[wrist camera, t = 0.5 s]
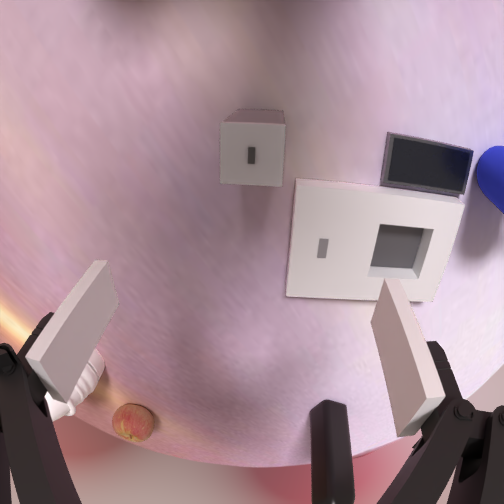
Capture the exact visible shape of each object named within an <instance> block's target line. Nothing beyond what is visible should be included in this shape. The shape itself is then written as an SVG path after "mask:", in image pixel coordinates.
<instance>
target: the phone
mask: <svg viewBox="0 0 504 504" xmlns="http://www.w3.org/2000/svg"><path fill="white" fill-rule="evenodd" d="M473 152H474V151H473V150H471V149H468V148H464V147H460V146H456V145H452V144H447V143H443V142H438V141H434V140H429V139H424V138H419V137H414V136H408V135H403V134H397V133H391V132H387V140H386V147H385V154H384V161H383V168H382V174H381V181H382V182H383V183H390V184H398V185H405V186H412V187H419V188H426V189H433V190H439V191H445V192H451V193H457V194H463V195H464V193H465V189H466V185H467V180H468V176H469V171H470V167H471V162H472V157H473Z"/></svg>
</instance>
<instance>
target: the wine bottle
mask: <svg viewBox="0 0 504 504" xmlns="http://www.w3.org/2000/svg"><path fill="white" fill-rule="evenodd" d="M310 427H311V469H312V470H311V472H312V473H311V474H312V476H311V477H312V504H354V500H355V489H354V476H353V464H352V453H351V442H350V433H349V424H348V415H347V407H346V405H344V404H341V403H337V402H334V401H330V400H324V401H322V402H321V403H320V404H319V405H317V406H316V407H315V408H314V409H312V410H311V411H310Z"/></svg>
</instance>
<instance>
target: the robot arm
mask: <svg viewBox="0 0 504 504" xmlns="http://www.w3.org/2000/svg"><path fill="white" fill-rule="evenodd" d="M118 306H119V301H118V297H117V293H116V290H115V286H114V282H113V278H112V274H111V270H110V266H109V262H108V261H105V260H95V261H94V262H93V263H92V264H91V266H90V267H89V268H88V269H87V271H86V272H85V273H84V275H83V276H82V277H81V278H80V280H79V281H78V282H77V284H76V285H75V286H74V288H73V289H72V290H71V292H70V293H69V294H68V296H67V297H66V298H65V300H64V301H63V302H62V304H61V305H60V306H59V308H58V309H57V311H56V312H55V313H52V312H50V313H49V314H47V315H46V316H45V317H44V318H42V319H41V321H40V322H39V324H38V325H37V326H36V329H34V331H33V332H32V335H30V336H29V338H28V339H27V341H26V342H25V344H24V345H23V347H22V348H21V350H20V351H19V353H18V354H17V355H16V353H15V352H14V350H13V348H12V346H10V345H9V344H6V343H2V344H0V504H12V501H11V486H10V469H11V473H12V477H13V481H14V484H15V488H16V492H17V495H18V499H19V502H20V504H82V503H81V501H80V499H79V496H78V494H77V492H76V489H75V487H74V484H73V482H72V479H71V476H70V474H69V471H68V468H67V466H66V463H65V460H64V457H63V454H62V451H61V448H60V445H59V442H58V439H57V436H56V432H55V429H54V425H53V422H52V418H51V415H50V411H49V407H48V403H47V400H46V398H45V395H46V393H47V391H48V393H49V394H50V396H51V397H52V398H53V399H54V400H57V401H60V402H63V403H66V404H67V403H68V400H69V398H70V396H71V394H72V392H73V390H74V388H75V386H76V384H77V382H78V380H79V378H80V376H81V374H82V372H83V370H84V368H85V366H86V364H87V362H88V361H89V359H90V357H91V355H92V353H93V351H94V349H95V347H96V345H97V344H98V342H99V340H100V338H101V336H102V334H103V332H104V331H105V329H106V327H107V325H108V323H109V322H110V320H111V318H112V316H113V315H114V313H115V311H116V309H117V308H118ZM371 325H372V329H373V333H374V336H375V340H376V344H377V348H378V352H379V356H380V360H381V364H382V368H383V372H384V376H385V381H386V385H387V390H388V394H389V399H390V403H391V408H392V413H393V418H394V423H395V428H396V433H397V437H404V436H412V435H415V434H416V433H417V431H418V430H419V429H420V428H421V431H422V435H423V436H422V437H421V438H420V439H419V440H418V442H417V443H416V444H415V445H414V446H413V447H412V448H414V450H413V451H412V453H411V455H410V456H409V458H408V459H407V461H406V462H405V464H404V465H403V467H402V468H401V470H400V472H399V473H398V474H397V476H396V477H395V479H394V480H393V482H392V483H391V485H390V486H389V488H388V489H387V490H386V492H385V493H384V494H383V496H382V497H381V498H380V500H379V501H378V502H377V504H436V503H437V501H438V499H439V498H440V496H441V494H442V492H443V490H444V489H445V487H446V485H447V483H448V481H449V479H450V477H451V475H452V473H453V471H454V469H455V467H456V470H455V474H454V479H453V483H452V487H451V490H450V494H449V498H448V501H447V504H504V406H502V405H501V406H499V407H497V408H496V409H495V410H494V411H493V412H485V411H479V410H475V408H474V406H473V405H472V404H471V403H470V402H469V401H468V400H465V399H463V398H462V396H461V393H460V391H459V388H458V385H457V382H456V380H455V377H454V374H453V372H452V369H451V367H450V364H449V362H448V361H447V360H448V359H447V357H446V354H445V352H444V350H443V349H442V347H441V346H440V345H439V344H438V343H437V342H436V341H428V342H426V340H425V338H424V335H423V333H422V330H421V328H420V326H419V323H418V321H417V318H416V316H415V314H414V311H413V309H412V307H411V304H410V302H409V300H408V297H407V295H406V293H405V291H404V288H403V286H402V284H401V282H400V280H399V279H389V278H384V281H383V285H382V288H381V291H380V295H379V298H378V301H377V304H376V307H375V311H374V314H373V317H372V320H371ZM456 465H457V466H456Z"/></svg>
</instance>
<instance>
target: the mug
mask: <svg viewBox="0 0 504 504" xmlns="http://www.w3.org/2000/svg"><path fill="white" fill-rule="evenodd" d="M477 180H478V184H479V187H480V189H481V190H482V192H483V193H484V194H485V195H486V197H487V198H488V199H489V200H490V201H491V202H492V203H493V204H494V205H495V206H496V207H497V208H498V209H499V210H500V211H501V212H502V213H503V214H504V146H494V147H491V148H489V149H488V150H487V151H486V152H484V154H483V155H482V156H481V158H480V160H479V163H478V167H477Z"/></svg>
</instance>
